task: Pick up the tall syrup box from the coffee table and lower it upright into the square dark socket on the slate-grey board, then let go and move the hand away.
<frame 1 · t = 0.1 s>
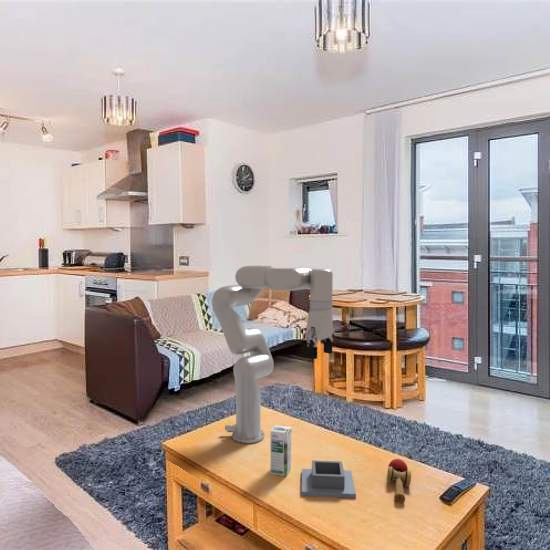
hand: (320, 355, 152), 37 cm above the table, tool pointing down, fingers open, 9 cm apart
kendama: (399, 488, 139), on the table
syrup box: (280, 472, 148), on the table
socket board: (327, 484, 140), on the table
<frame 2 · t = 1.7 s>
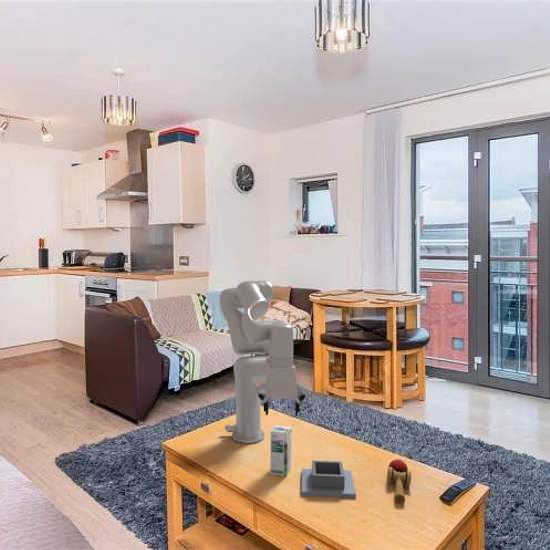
hand: (281, 413, 147), 20 cm above the table, tool pointing down, fingers open, 9 cm apart
nothing on the table moved.
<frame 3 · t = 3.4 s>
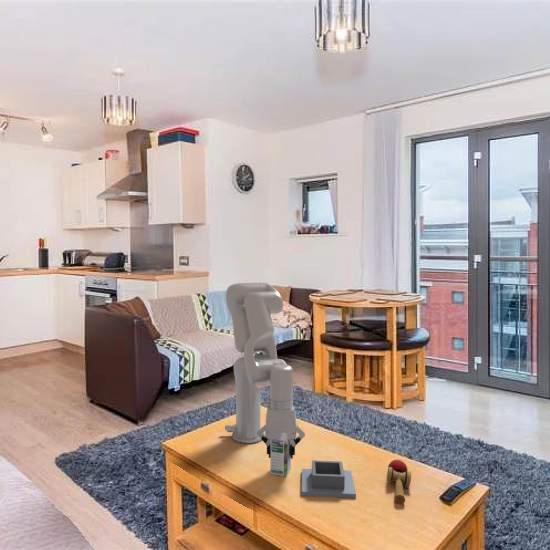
hand: (280, 456, 148), 5 cm above the table, tool pointing down, fingers closed on syrup box, 6 cm apart
syrup box: (280, 472, 148), on the table, touching gripper
everything else where it was.
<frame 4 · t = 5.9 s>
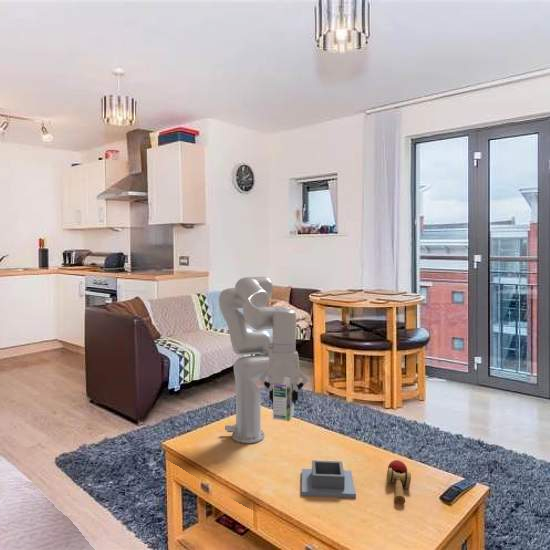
hand: (283, 401, 146), 24 cm above the table, tool pointing down, fingers closed on syrup box, 6 cm apart
syrup box: (283, 418, 147), point 18 cm above the table, touching gripper
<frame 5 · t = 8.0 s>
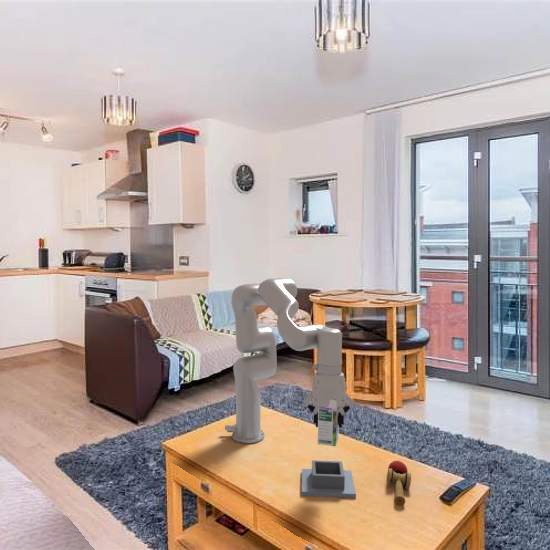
hand: (328, 425, 139), 19 cm above the table, tool pointing down, fingers closed on syrup box, 6 cm apart
syrup box: (328, 442, 139), point 13 cm above the table, touching gripper
when the fingers open (8 cm above the table, at t = 10.8 s): syrup box drops 1 cm, resting on socket board.
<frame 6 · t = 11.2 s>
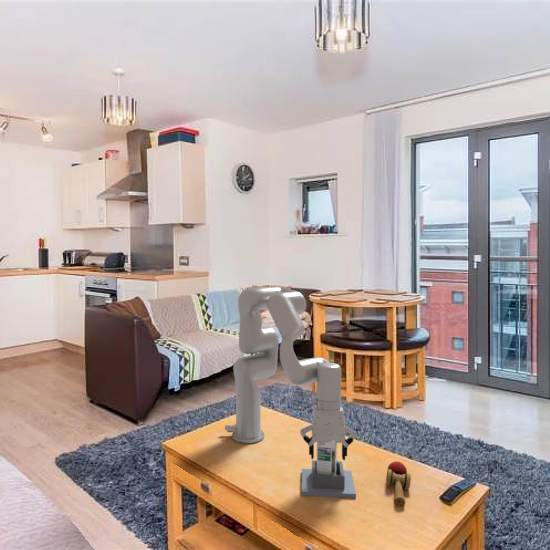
hand: (327, 457, 140), 9 cm above the table, tool pointing down, fingers open, 9 cm apart
syrup box: (326, 481, 140), point 1 cm above the table, touching socket board
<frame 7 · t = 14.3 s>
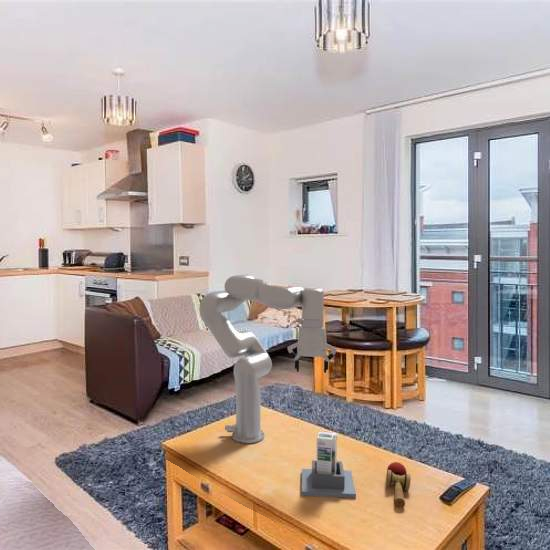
hand: (311, 371, 159), 30 cm above the table, tool pointing down, fingers open, 9 cm apart
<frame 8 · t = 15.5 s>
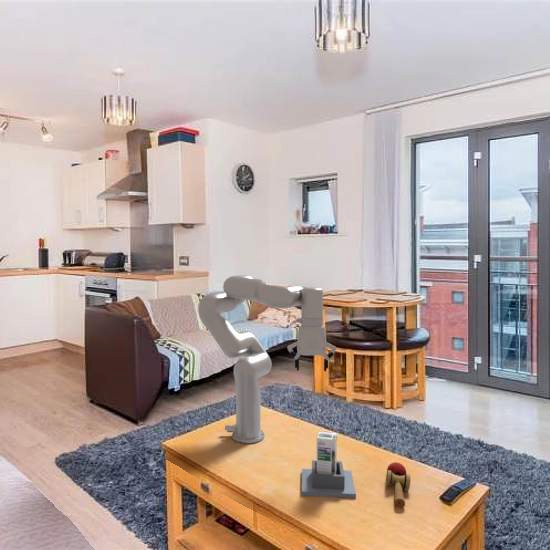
hand: (311, 370, 160), 30 cm above the table, tool pointing down, fingers open, 9 cm apart
at the end: syrup box 0.4 cm off-centre on the socket board, point 1.0 cm above the socket board's base; syrup box tilted 0°; the gripper is holding nothing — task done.
